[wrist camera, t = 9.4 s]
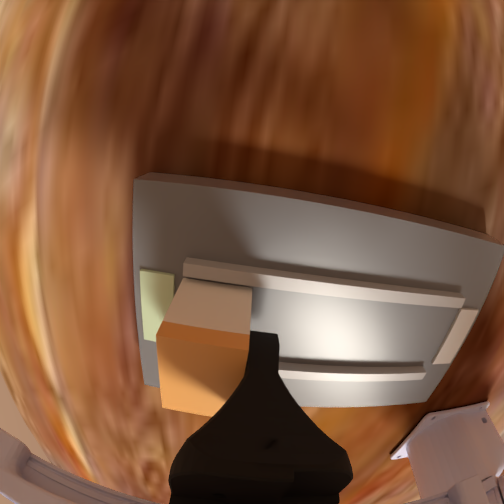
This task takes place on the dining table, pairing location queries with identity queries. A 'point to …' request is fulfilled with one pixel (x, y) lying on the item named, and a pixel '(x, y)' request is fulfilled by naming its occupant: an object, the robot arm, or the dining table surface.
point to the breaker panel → (316, 282)
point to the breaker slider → (203, 345)
